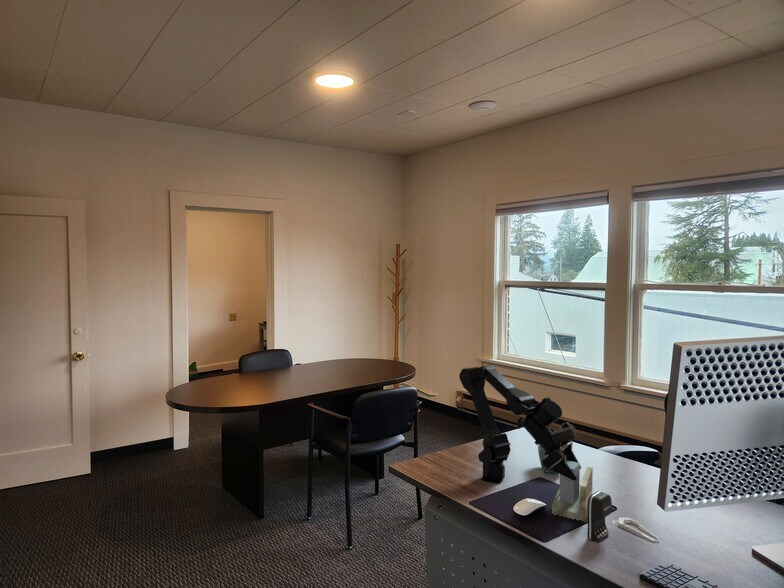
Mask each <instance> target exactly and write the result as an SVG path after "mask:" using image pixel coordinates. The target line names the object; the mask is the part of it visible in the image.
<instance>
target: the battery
mask: <svg viewBox="0 0 784 588" xmlns="http://www.w3.org/2000/svg"><path fill="white" fill-rule="evenodd" d="M612 503H613V502H612V497H611V495H610V494H608V493H606V492H603V491H601V490H597V491H595V492H594V493H593V492H592V495H590V497H589V499H588V515H587V539H589V540H592V541H595V542H600V541H602V540H604V539H605V538H607V537H608V536H609V530H608V528H607V524H606V517H608V516H610V515H611V514H612V511H613V510H612V509H613V507H612V505H613V504H612Z"/></svg>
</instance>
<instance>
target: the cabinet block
mask: <svg viewBox="0 0 784 588" xmlns="http://www.w3.org/2000/svg"><path fill="white" fill-rule="evenodd" d="M566 463H567V464H568V466H569V467H570V468H571V470H572V471H573V473H574V474H575V476H576V477H577V479H576V480H575V481H573V480H571V479H569V478H567V477H565V476H563V475H561V474H559V488H560V495H559V497H560V501H561V502H565V503H569V504H573V505H574V503H575V502H576V501H577V500H578V498H579V491H580V478H581V477H580V471H581V469H580V466H581V463H580V462H579V463H577V462H572V461H568V460H566Z"/></svg>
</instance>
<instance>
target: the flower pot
mask: <svg viewBox="0 0 784 588" xmlns="http://www.w3.org/2000/svg"><path fill="white" fill-rule="evenodd" d="M537 450H538V451H537V452H538V458H539V462H540V466H541V468H542V470H543V472H544V473H556V474H558V473H557V472H554V471H552V470H551V471H550V470H549V469H548V470H547V469H546V468H545V467H544V466H543V465H542V460H543V458H544V457H545V456H546V455H545V454H544V453H545V451H544V450H543V448H542V447H541V446H540V445H539V444H537Z"/></svg>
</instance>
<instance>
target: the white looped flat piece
mask: <svg viewBox="0 0 784 588" xmlns="http://www.w3.org/2000/svg"><path fill="white" fill-rule="evenodd" d="M611 523H612V524H613V525H615V526H618V527H620V528H622V529H624V530H626V531H628V532H631V533H633V534H635V535H637V536H638V537H641V538H643V539H645V540H648V541H650V542H652V543H659V541H660V539H659V538H660V537H658V536H657V535H655V534H654V533H652V532H651V531H650V530H648V529H646V527H644V526H643V525H642V524H640V523H639V522H638V521H637V520H634V519H632V518H631V517H619V518H618V521H617V520H612V522H611ZM627 524H632V525H635V526H637V527H638V529H640V530H642V531H643V532H644V533H643V532H642V531H640V530H638V529H636V528H634V527H632V526H630V525H627ZM647 534H648V535H647Z"/></svg>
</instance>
